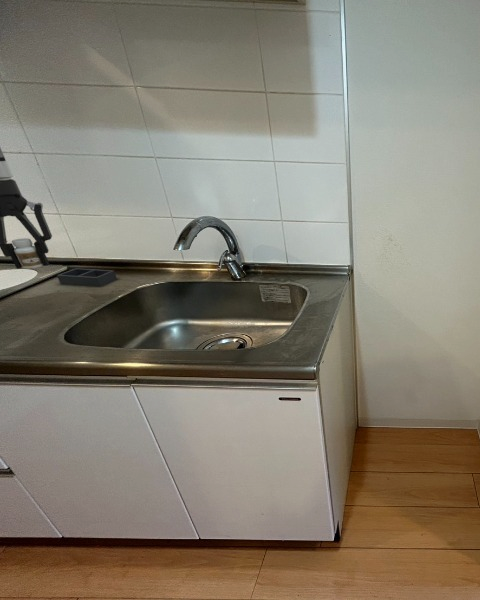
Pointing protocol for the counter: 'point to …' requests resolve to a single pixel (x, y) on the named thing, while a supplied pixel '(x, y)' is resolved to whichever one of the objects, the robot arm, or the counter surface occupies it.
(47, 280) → the counter surface
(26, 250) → the pill bottle
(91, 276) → the grey divided tray
